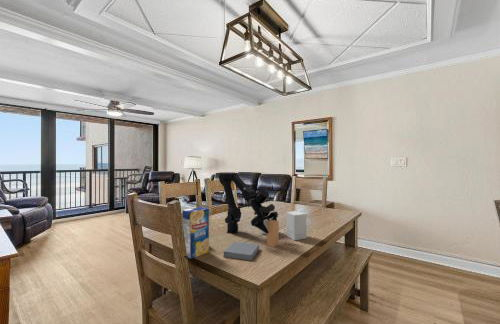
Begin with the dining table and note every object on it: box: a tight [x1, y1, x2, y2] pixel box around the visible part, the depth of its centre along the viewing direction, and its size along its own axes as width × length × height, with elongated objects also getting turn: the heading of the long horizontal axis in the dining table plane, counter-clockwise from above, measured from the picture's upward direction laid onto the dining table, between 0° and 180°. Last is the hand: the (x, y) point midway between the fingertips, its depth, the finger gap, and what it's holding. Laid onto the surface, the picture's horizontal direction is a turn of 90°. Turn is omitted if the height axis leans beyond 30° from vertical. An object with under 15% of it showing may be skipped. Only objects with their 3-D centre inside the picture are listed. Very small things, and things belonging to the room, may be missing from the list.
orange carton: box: [266, 220, 280, 248], centre depth 127 cm, size 5×5×13 cm
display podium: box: [223, 241, 260, 261], centre depth 116 cm, size 14×14×2 cm
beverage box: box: [182, 206, 210, 259], centre depth 115 cm, size 7×11×22 cm, turn 138°
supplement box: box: [286, 210, 308, 241], centre depth 139 cm, size 9×9×15 cm
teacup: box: [259, 219, 269, 235], centre depth 149 cm, size 12×15×10 cm
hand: (273, 231), depth 127 cm, fingers open, 9 cm apart
